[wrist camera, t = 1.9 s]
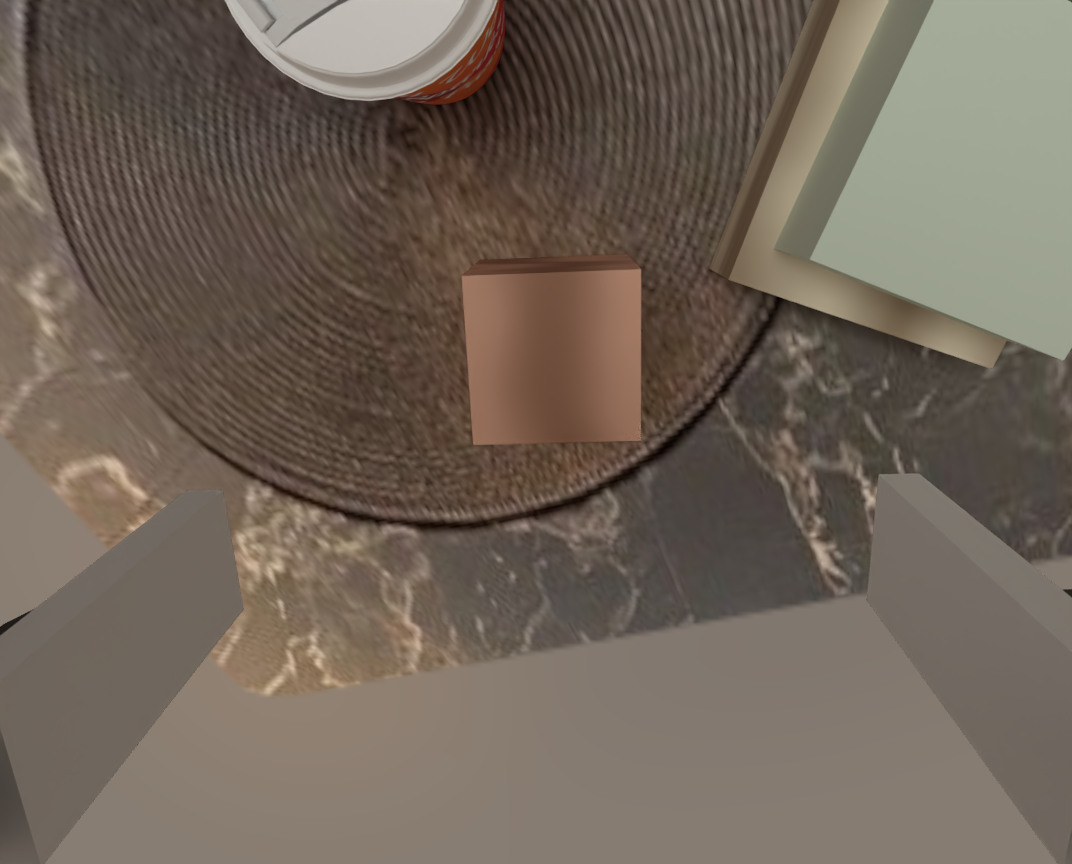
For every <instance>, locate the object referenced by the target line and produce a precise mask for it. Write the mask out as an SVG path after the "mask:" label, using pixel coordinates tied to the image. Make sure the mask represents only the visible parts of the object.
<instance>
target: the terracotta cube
mask: <svg viewBox="0 0 1072 864" xmlns="http://www.w3.org/2000/svg"><path fill="white" fill-rule="evenodd" d="M462 289H463V303H464V318H465V332H466V347H467V362H468V376H469V391H470V405H471V420H472V434H473V445H494V444H532V443H570V442H607V441H641V269H640V267H639V266H638V265H637V264H636V263H635V262H634V261H633V260H632V259H631V257H630V256H629V255H628V254H620V255H594V256H568V257H541V258H515V259H489V260H480V261H478V262H477V263H476V264H475V265H474V266H473V267H471V268H470V269H469V270H468V271H467V272H466V273H464V274H463V275H462Z"/></svg>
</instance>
